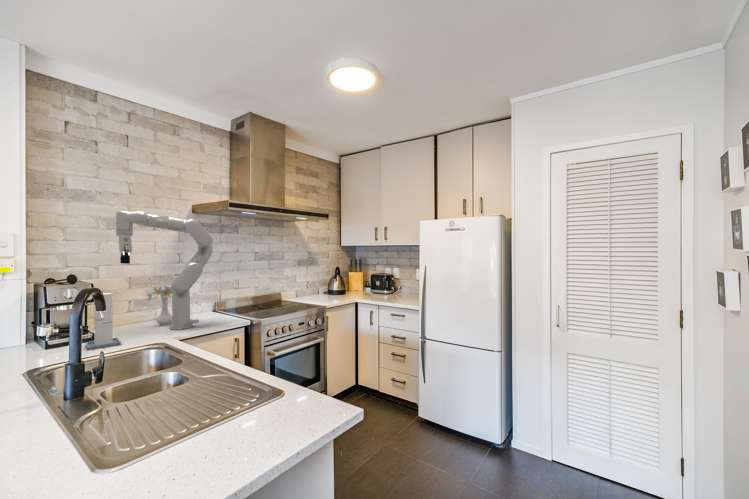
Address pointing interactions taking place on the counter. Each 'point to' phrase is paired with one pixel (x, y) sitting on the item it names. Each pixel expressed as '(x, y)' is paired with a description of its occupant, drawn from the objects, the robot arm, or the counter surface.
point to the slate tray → (92, 345)
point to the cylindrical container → (104, 323)
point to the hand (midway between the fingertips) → (125, 263)
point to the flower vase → (163, 304)
